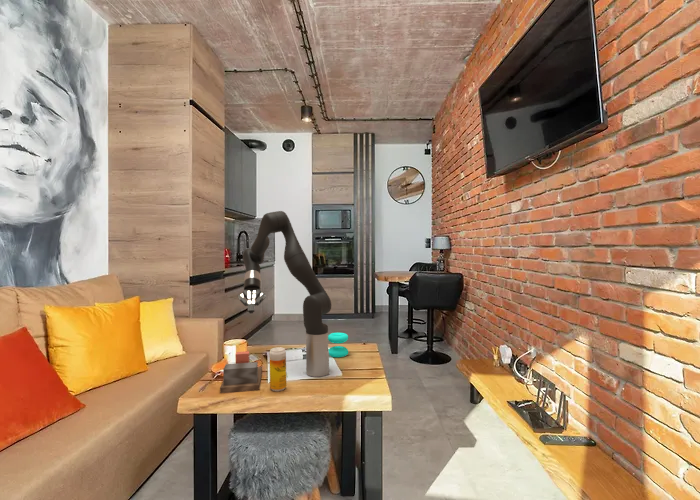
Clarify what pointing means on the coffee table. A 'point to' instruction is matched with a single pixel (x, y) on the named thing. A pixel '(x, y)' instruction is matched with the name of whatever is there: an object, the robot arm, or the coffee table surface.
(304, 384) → the coffee table surface
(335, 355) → the donuts
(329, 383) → the coffee table surface
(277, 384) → the beer glass
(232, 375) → the grey and brown block
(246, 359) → the reddish brown block
